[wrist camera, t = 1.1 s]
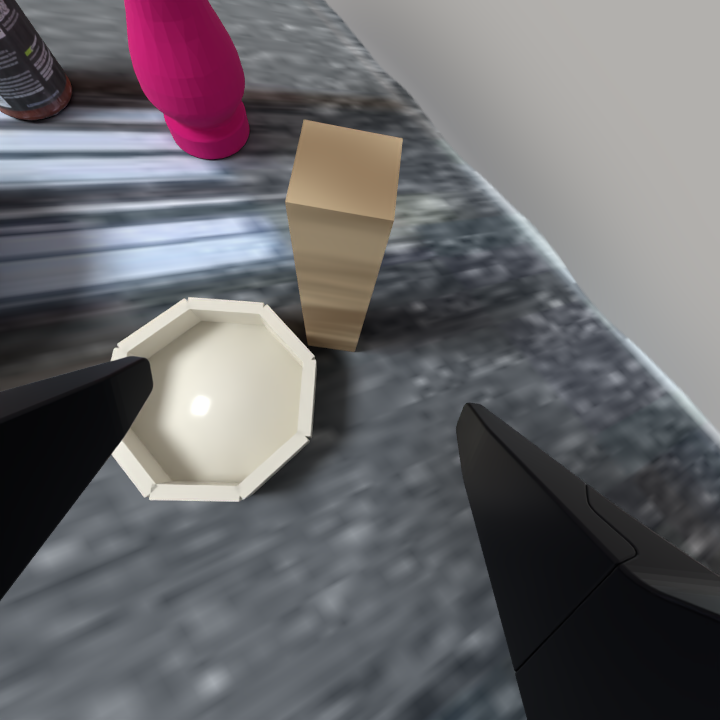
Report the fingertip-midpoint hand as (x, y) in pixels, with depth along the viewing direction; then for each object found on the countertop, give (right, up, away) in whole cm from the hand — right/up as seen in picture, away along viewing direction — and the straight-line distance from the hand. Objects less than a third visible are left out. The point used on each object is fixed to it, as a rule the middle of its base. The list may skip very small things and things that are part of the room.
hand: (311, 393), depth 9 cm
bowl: (-8, -2, +12) cm, 15 cm away
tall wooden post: (0, +3, +15) cm, 15 cm away
